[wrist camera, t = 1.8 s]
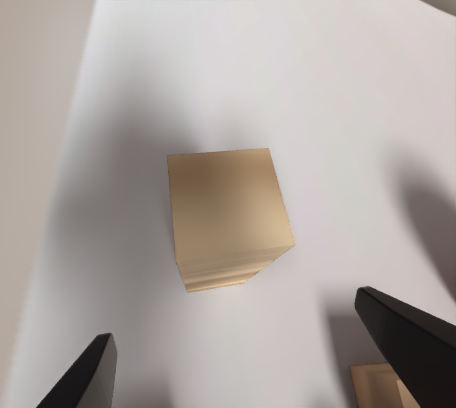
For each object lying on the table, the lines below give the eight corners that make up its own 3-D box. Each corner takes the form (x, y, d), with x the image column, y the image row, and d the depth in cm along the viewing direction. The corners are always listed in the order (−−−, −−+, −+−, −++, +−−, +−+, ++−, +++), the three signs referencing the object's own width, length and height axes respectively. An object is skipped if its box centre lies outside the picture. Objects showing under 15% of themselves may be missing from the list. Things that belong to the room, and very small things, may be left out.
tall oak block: (243, 283, 20) (295, 244, 10) (187, 292, 20) (176, 261, 9) (233, 231, 22) (268, 148, 11) (182, 237, 21) (167, 155, 11)
